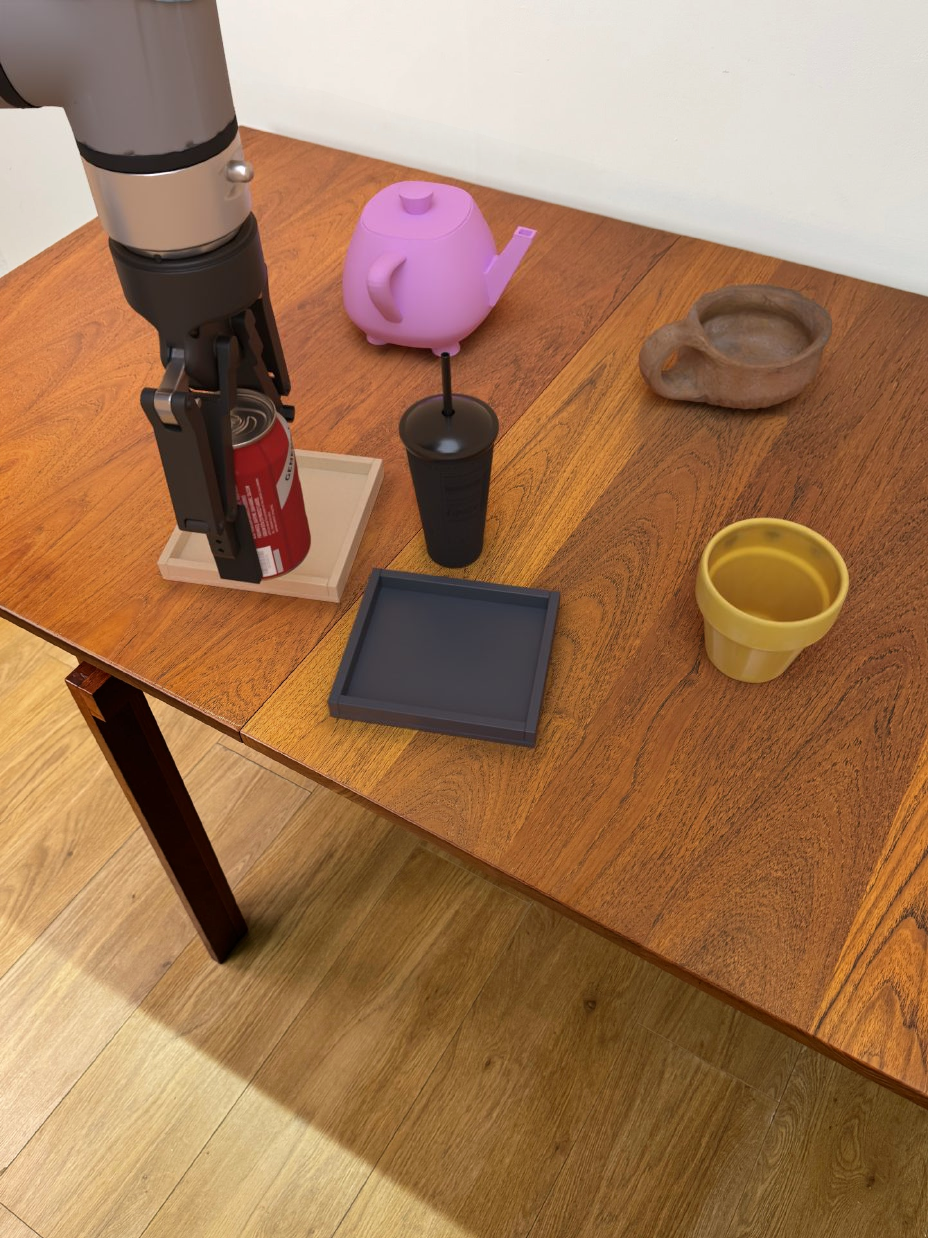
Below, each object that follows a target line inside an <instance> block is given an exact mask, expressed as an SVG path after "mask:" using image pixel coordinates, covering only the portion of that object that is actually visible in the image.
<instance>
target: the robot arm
mask: <svg viewBox="0 0 928 1238" xmlns="http://www.w3.org/2000/svg"><path fill="white" fill-rule="evenodd" d="M220 22H221V21H220V16H219V11H218V4H217V0H0V110H2V109H3V110H6V109H7V110H8V109H9V110H11V109H13V110H15V109H21V110H25V109H42V108H45V107H55V108H62V110H63V111H64V114H65V116H66V119H67V120H68V123H69V126H70V128H71V132H72V134H73V137H74V141H75V144H76V147H77V150H78V153H79V157H80V160H81V163H82V166H83V170H84V174H85V177H86V180H87V183H88V187H89V190H90V193H91V196H92V200H93V203H94V207H95V210H96V213H97V216H98V217H97V218H98V220H99V223H100V227H101V229H102V231H104V232H105V233H106V234H107V235H108V240H107V241H108V243H107V244H108V249H109V252H110V255H111V258H112V261H113V265H114V267H115V271H116V273H117V276H118V280H119V283H120V286H121V289H122V293H123V296H124V298H125V300H126V302H127V304H128V305H129V306H130V308H131V309H132V310H133V311H134V312H136V314H138V315H139V316H141V317H142V318H143V319H144V320H146V321H147V322H148V323H149V324H151V326H152V327H153V328H154V329H155V330H156V331H157V337H158V343H159V357H160V358H159V359H160V363H161V365H162V367H163V369H164V370H165V371H164V373H163V376H162V379H161V381H160V384H159V386H158V387H148V386H144V387H143V388H142V390H141V391H140V395H139V403H140V407H141V409H142V411H143V413H144V414H145V416H146V418H147V420H148V422H149V424H150V425H151V428H152V430H153V433H154V438H155V441H156V446H157V449H158V454H159V457H160V461H161V464H162V469H163V473H164V476H165V480H166V485H167V488H168V492H169V496H170V501H171V504H172V508H173V512H174V517H175V520H176V525H177V524H178V528H179V530H181V531H187V532H194V533H201V534H206V536H207V539H208V541H209V546H210V549H211V552H212V554H213V556H214V559H215V562H216V565H217V569H218V572H219V575H220V578H221V579H226V580H233V581H240V582H247V583H254V584H260V582H261V580H262V578H263V573H262V569H261V565H260V561H259V558H258V554H257V550H256V546H255V542H254V538H253V534H252V530H251V527H250V523H249V519H248V515H247V511H246V507H245V505H238V504H237V498H236V484H235V471H234V457H233V444H232V430H231V416H230V411H231V410H233V409H234V408H235V407H236V406H237V403H238V398H237V388H248V389H253V390H256V391H259V392H261V393H263V394H265V395H266V396H268V397H269V398H270V399H271V401H272V402H273V404H274V406H275V409H276V411H277V412H278V413H279V414H280V415H281V416H283V418H284V419H285V420H286V421H287V423H288V424H292V423H293V422H294V421H295V416H296V407H295V405H292V404H291V405H290V404H284V403H283V401H282V397H289V395H290V392H291V390H292V385H291V384H292V383H291V378H290V374H289V370H288V368H287V363H286V358H285V355H284V350H283V346H282V342H281V338H280V334H279V330H278V326H277V321H276V317H275V314H274V310H273V309H274V308H273V305H272V301H271V296H270V286H269V275H268V274H269V273H268V266H267V263H266V261H265V256H264V252H263V251H264V250H263V246H262V240H261V235H260V231H259V230H260V229H259V225H258V219H257V218H256V215H255V214H254V212H253V211H252V208H253V197H252V193H251V187H250V182H252V180H253V179H254V177H255V170H254V166H253V164H252V163H251V162H250V161H249V160H245V156H244V155H245V154H244V151H243V150H244V149H243V144H242V140H241V139H242V138H241V133H240V128H239V124H238V117H237V113H236V108H235V105H234V99H233V94H232V93H233V92H232V87H231V82H230V75H229V69H228V65H227V58H226V52H225V47H224V42H223V41H224V40H223V35H222V28H221V23H220ZM271 373H272V374H273V376H272V375H270V374H271ZM217 391H220V395H219V394H211V392H217Z"/></svg>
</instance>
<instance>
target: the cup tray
mask: <svg viewBox="0 0 928 1238" xmlns="http://www.w3.org/2000/svg"><path fill="white" fill-rule="evenodd" d="M294 451H295V457H296V462H297V467H298V472H299V477H300V483H301V488H302V493H303V498H304V503H305V509H306V514H307V519H308V524H309V529H310V534H311V546H310V550H309V552H308V554H307V556H306V558H305V559H304V560H303V562H302V563H301V564H300V565H299V566H298V567H296V568H295V569H294V570H292V571H291V572H289V573H287V574H286V575H283V576H281V577H279V578H276V579H272V580H267V581H261V582H260V584H254V583H247V582H240V581H233V580H226V579H221V578H220V575H219V572H218V569H217V565H216V562H215V560H214V557H213V554H212V552H211V549H210V546H209V541H208V539H207V536H206V534H201V533H194V532H187V531H181V530H179V528H178V524H177V523H176V525H175V527H174V529H173V531H172V533H171V534H170V537H169V539H168V540H167V543H166V544H165V547H164V548H163V550H162V552H161V554H160V556H159V558H158V560H157V562H156V565H157V567H158V570H159V572H160V574H161V577H162V579H163V580H165V581H166V580H167V581H173V582H181V583H188V584H189V583H190V584H196V585H203V586H211V587H219V588H225V589H226V588H227V589H234V590H240V591H248V592H256V593H263V594H269V595H278V596H285V597H292V598H299V599H307V600H314V601H322V602H329V603H337V604H339V603H340V602H341V599H342V597H343V594H344V590H345V589H346V585H347V582H348V580H349V578H350V574H351V572H352V568H353V566H354V563H355V560H356V557H357V554H358V552H359V549H360V546H361V543H362V540H363V537H364V535H365V532H366V529H367V526H368V523H369V521H370V517H371V515H372V512H373V509H374V507H375V504H376V502H377V499H378V495H379V492H380V490H381V487H382V485H383V482H384V478H385V468H384V460H383V459H382V458H376V457H369V456H360V455H352V454H343V453H335V452H325V451H317V450H307V449H299V448H294Z"/></svg>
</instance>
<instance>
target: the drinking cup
mask: <svg viewBox="0 0 928 1238" xmlns="http://www.w3.org/2000/svg"><path fill="white" fill-rule="evenodd" d="M440 366H441V367H440V368H441V370H440V371H441V386H442V393H436V394H432V395H429V396H426V397H423V398H420V399H418V400H417V401H415V402H414V403H412V404H411V405H410V406H408V408H406V409H405V410H404V412H403V413H402V415H401V417H400V419H399V423H398V437H399V439H400V441H401V443H402V445H403V446H404V448H405V453H406V457H407V461H408V466H409V471H410V476H411V480H412V486H413V490H414V495H415V498H416V503H417V508H418V509H417V510H418V513H419V519H420V522H421V523H420V524H421V528H422V533H423V537H424V541H425V546H426V551H427V554H428V556H429V558H430V560H431V561H433V562H434V563H435V564H437V565H439V566H442V567H444V568H447V569H460V568H464V567H467V566H469V565H472V564H473V563H475V562H476V561H477V560H478V559H479V558H480V556H481V555H482V552H483V549H484V541H485V532H486V522H487V513H488V503H489V495H490V494H489V493H490V485H491V478H492V477H491V476H492V467H493V459H494V451H495V450H494V449H495V443H496V441H497V439H498V436H499V434H500V421H499V417H498V415H497V413H496V412H495V410H494V408H492V407H491V405H489V404H488V403H487V402H485V401H484V400H482V399H480V398H479V397H476V396H473V395H469V394H466V393H465V394H464V393H457V392H453V389H452V388H453V387H452V367H451V356H450V353H448V352H443V353H441V357H440Z"/></svg>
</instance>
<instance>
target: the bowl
mask: <svg viewBox="0 0 928 1238" xmlns="http://www.w3.org/2000/svg"><path fill="white" fill-rule="evenodd" d="M832 333H833V319H832V316H831V314H830V312H828V310H827V309H825V308H824V307H823V306H822V304H820V303H818V302H817V301H816V300H813V299H811V298H809V297H807V296H805V295H804V294H803V293H801V292H799V291H798V290H796V289H792V288H788V287H783V286H776V285H772V284H760V283H751V284H749V283H748V284H735V285H727V286H723V287H720V288H719V287H718V288H717V289H715V290H714V291H709V292H706V293H703V295H701V297H699V298H698V299H697V300H696V301H695V302H694V303H693V304H692V305H691V308H689V311H688V312H687V315H686V317H685V318H682V319H680V320H676V321H671V322H669V323H667V324H664V325H662V326H660V327H659V328H656V329H655V330H654V331H653V332H652V333H650V334H649V335H648V337H647V338H646V339H645V340H644V341H643V343H642V345H641V347H640V349H639V353H638V369H639V372H640V375H641V377H642V379H643V381H644V383H645V385H646V386H647V387H648V389H649V390H651V391H652V393H654V394H655V395H657V396H659V397H662V398H665V399H668V400H672V401H673V400H675V401H689V402H695V403H706V404H708V405H710V406H720V407H723V408H731V409H740V410H749V409H752V410H757V409H759V408H763V409H764V408H770V407H772V406H774V405H780V404H781V403H783V402H786V401H789V400H791V399H793V398H794V397H798V396H799V395H800V394H801V393H802V392H803V391H805V390H806V389H807V388H808V387H809V385H810V383H811V382H812V381H813V380H814V379H815V377H816V375H817V372H818V370H820V369H819V368H820V365H821V361H822V359H823V358H822V357H823V354H824V349H825V348H826V346H827V344H828V342H829V341H830V338H831V335H832ZM676 351H677V353H676V354H677V355H676V360H675V362H674V364H673V365H672V366H671V367H670V368H668V369H666V370H664V369H663V368H664V365H665V363H666V362H667V360H668V359H669V358H670V357H671V356H672V355H673V354H674V353H675V352H676ZM662 369H663V370H662Z"/></svg>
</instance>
